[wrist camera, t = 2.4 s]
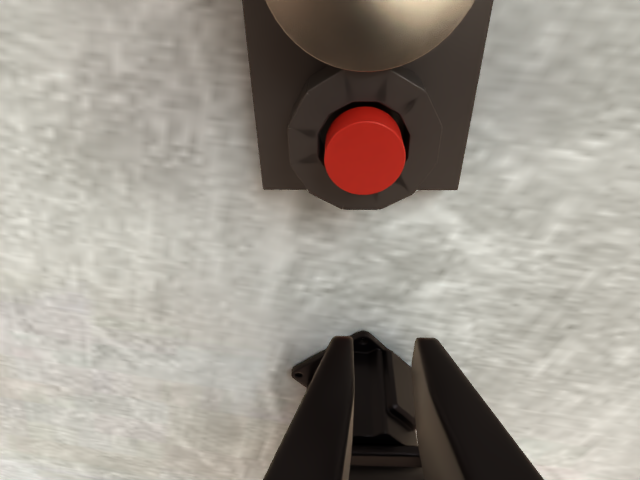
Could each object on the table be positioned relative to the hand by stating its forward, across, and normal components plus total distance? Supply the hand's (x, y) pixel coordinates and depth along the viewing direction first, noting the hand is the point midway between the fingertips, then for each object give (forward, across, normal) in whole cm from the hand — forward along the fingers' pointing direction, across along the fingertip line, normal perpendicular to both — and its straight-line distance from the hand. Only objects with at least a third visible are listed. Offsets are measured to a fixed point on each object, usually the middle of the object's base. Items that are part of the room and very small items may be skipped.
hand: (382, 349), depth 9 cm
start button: (+10, 0, 0) cm, 10 cm away
